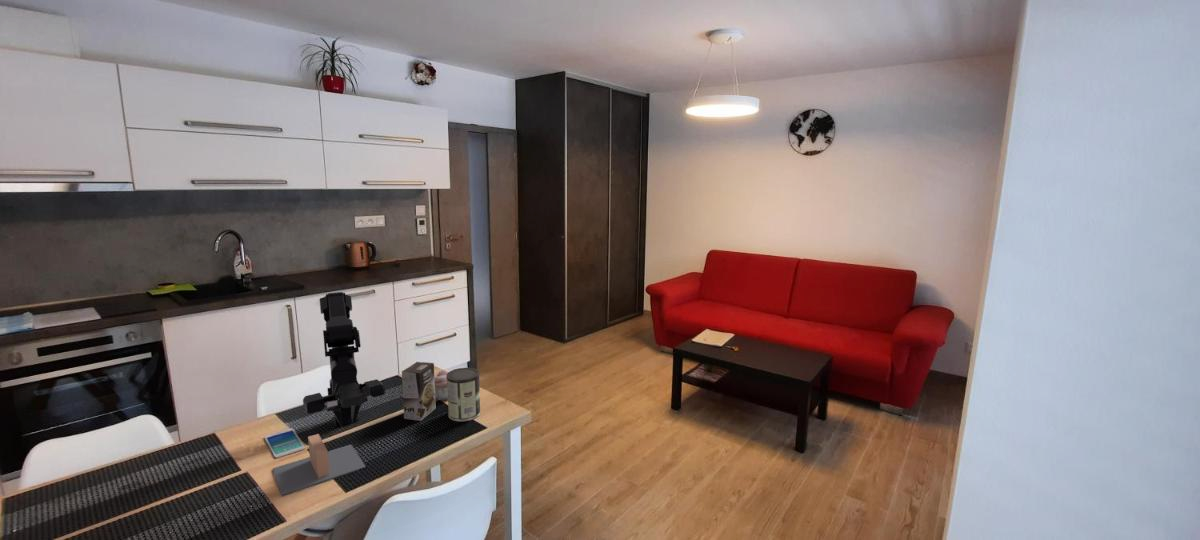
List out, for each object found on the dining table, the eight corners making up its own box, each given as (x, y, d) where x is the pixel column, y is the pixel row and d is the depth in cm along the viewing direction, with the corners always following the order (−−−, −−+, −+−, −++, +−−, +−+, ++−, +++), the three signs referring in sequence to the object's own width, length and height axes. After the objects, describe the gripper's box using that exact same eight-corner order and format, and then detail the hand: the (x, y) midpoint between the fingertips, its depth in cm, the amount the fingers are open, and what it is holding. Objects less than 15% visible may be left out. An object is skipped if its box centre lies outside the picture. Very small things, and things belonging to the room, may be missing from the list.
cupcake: (442, 405, 167) (441, 377, 165) (424, 398, 172) (423, 370, 170) (463, 395, 175) (462, 368, 173) (445, 388, 180) (444, 362, 178)
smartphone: (274, 457, 134) (263, 436, 145) (275, 460, 134) (263, 438, 145) (305, 447, 139) (292, 427, 150) (306, 450, 139) (293, 430, 150)
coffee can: (465, 404, 168) (464, 364, 166) (487, 412, 163) (486, 371, 160) (441, 416, 160) (439, 374, 157) (463, 425, 154) (461, 382, 152)
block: (310, 460, 133) (307, 436, 132) (320, 457, 135) (318, 433, 133) (318, 478, 126) (316, 453, 124) (329, 474, 127) (327, 449, 126)
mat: (272, 469, 129) (272, 468, 129) (351, 445, 141) (351, 444, 141) (281, 496, 119) (281, 494, 119) (365, 467, 131) (365, 466, 131)
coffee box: (421, 421, 156) (419, 373, 153) (403, 419, 157) (400, 371, 154) (436, 408, 165) (434, 362, 162) (419, 406, 166) (416, 360, 163)
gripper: (309, 389, 118) (314, 449, 121) (389, 371, 130) (393, 426, 133) (300, 375, 126) (305, 431, 129) (376, 359, 138) (380, 410, 141)
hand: (347, 425), depth 133 cm, fingers open, 3 cm apart
